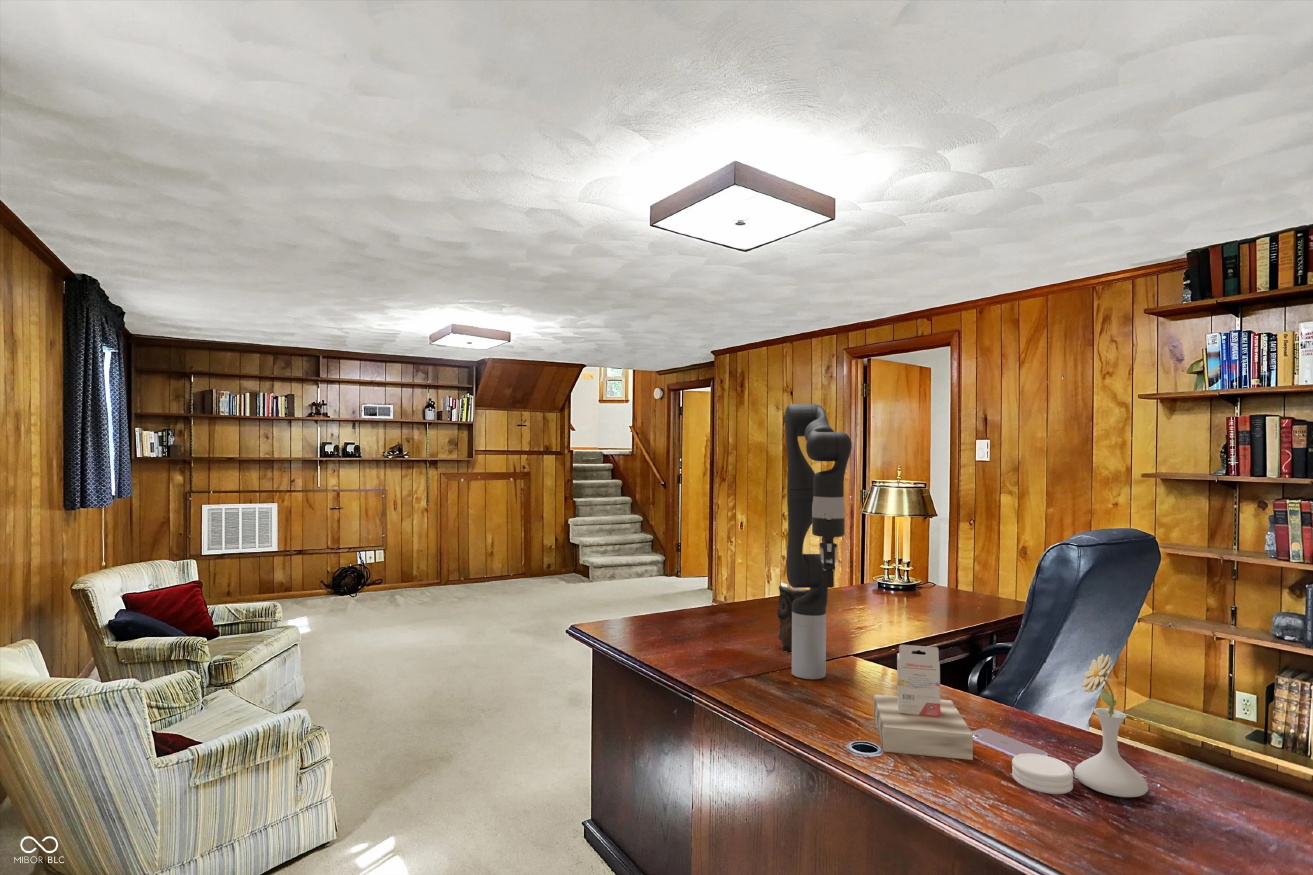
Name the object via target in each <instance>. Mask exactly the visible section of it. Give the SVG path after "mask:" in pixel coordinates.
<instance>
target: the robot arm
mask: <svg viewBox="0 0 1313 875" xmlns="http://www.w3.org/2000/svg"><path fill="white" fill-rule="evenodd" d="M827 416H828V415H827V413H826V411H825V408H824V407H822V405H821V404H816V403H790V404H788V405H786V408H785V411H784V428H785V430H784V431H785V443H786V457H787V460H786V462H787V464H786V466H787V468H786V470H787V471H786V472H787V474H786V475H787V476H786V478H787V479H786V482H787V483H786V501H787V545H786V546H787V548H786V562H785V563H786V565H785V566H786V567H785V568H786V579H787V582H788V584H789V586H790V588H799V589H807V588H808V590H809V592H808V593H806V594H805V595H804V596H802V597H800V598H798V599H795V600H794V601H793V603H792V653H791V675H793V676H794V677H797V678H801V679H805V680H820V679H824V678H825V677H826V676H827V675H826V674H827V670H826V667H827V663H826V662H827V661H826V660H827V656H826V655H827V605H828V598H829V597H828V595H829V594H828V593H829V592H828V591H829V589H831V588H833V589H834V586H835V583H834V582H835V571H836V566H835V564H836V562H837V552H838V544H837V543H835V542H834V539H835V538H841V537H844V536H845V534H846V533H845V526H846V525H845V518H846V516H845V514H846V513H845V508H846V506H845V500H844V498H845V497H844V493H845V492H844V491H845V490H844V489H845V488H844V486H845V485H844V484H845V481H844V480H845V474H846V471H847V470H846V469H847V465H848V462H849V459H850V457H851V456H850V455H851V452H852V448H853V446H852V445H853V442H852V440H851V437H850V436H849V435H848V434H847V433H846V432H844V431H841V432H840V431H835V430H834V429H833V428H832V427H831V426H830V423H829V420H828V417H827ZM798 437H804V438H805V442H806V444H805V445H806V446H805V452H806V455H807V457H808V458H809V459H810V460H812V461H814V462H834V463H833V464H834V465H833V466H832V467H831V468H830V469H828V470H822V471H818V472H815V471H814V469H813V468H812V467H811V465H810V464H809V462H808V461H807V459H806V457H805V456H804V453H803V452H802V450H801V446H800V443H799V438H798ZM810 528H811V533H812V535H813V536H815V537H821V542H819V552H820V553H803V549H804V542H805V539H806V536H807V533H808V531H809V529H810Z"/></svg>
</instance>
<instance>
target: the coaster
mask: <svg viewBox="0 0 1313 875" xmlns="http://www.w3.org/2000/svg"><path fill="white" fill-rule="evenodd" d="M1011 764H1012V766H1011V769H1012V773H1011V775H1012V778H1013V779H1014V780H1015V781H1016V783H1018V784H1019V785H1021V786H1023V787H1024V788H1027V789H1029V790H1032V791H1036V792H1038V793H1039V792H1040V793H1044V794H1051V795H1062V794H1068V793H1070V792H1071V791H1073V788H1074V771H1073V769H1072V768H1071V766H1070V765H1068V764H1067V763H1066V762H1064V761H1062V760H1060V759H1058V758H1056V757H1053V756H1045V755H1040V754H1031V753H1026V754H1019V755H1016V756H1015V757H1012V760H1011Z"/></svg>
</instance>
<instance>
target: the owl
mask: <svg viewBox="0 0 1313 875" xmlns="http://www.w3.org/2000/svg"><path fill="white" fill-rule="evenodd" d="M778 590H779V599H778V609H777V612H776V613H777V617H778V621H779V633H778V639H779V640H780V642H781V645H782V648H781V649H783V650H784V651H787V652H792V603H793V601H794V600H795V599H798V598H800V597H802V596H804V595H805V594H806V593H808V592H809V590H810V589H807V588H793V587H787V586H783V585H781V584H780V585H778ZM784 651H783V652H784Z"/></svg>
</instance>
